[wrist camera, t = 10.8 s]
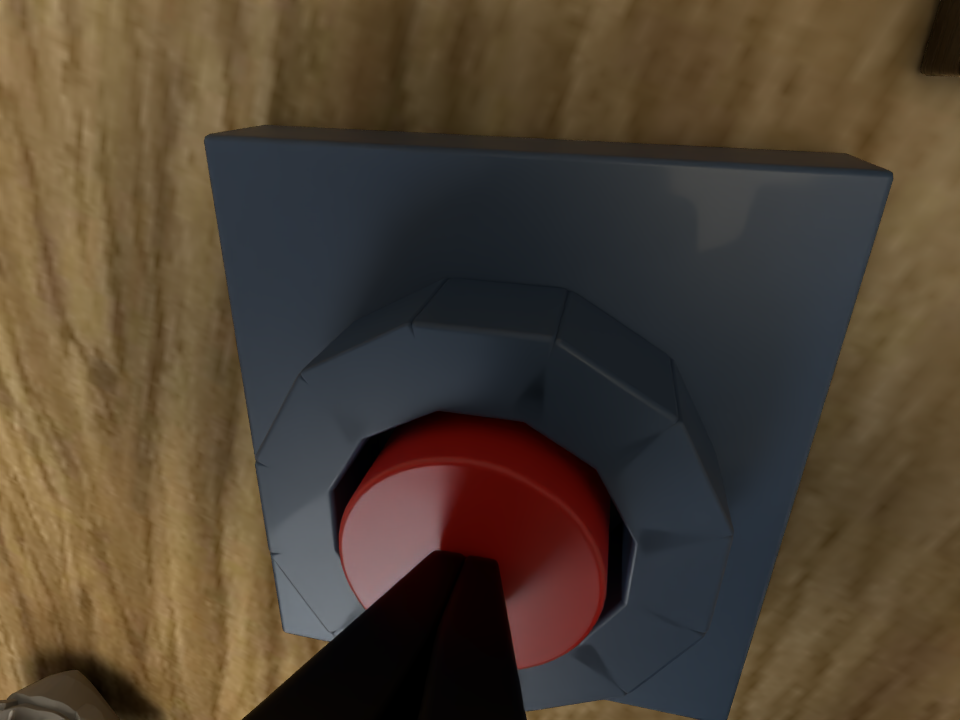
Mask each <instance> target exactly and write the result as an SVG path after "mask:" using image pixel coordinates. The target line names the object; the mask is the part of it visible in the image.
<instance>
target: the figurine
mask: <svg viewBox="0 0 960 720" xmlns="http://www.w3.org/2000/svg"><path fill="white" fill-rule="evenodd" d="M0 720H120V718H119V717H118V716H117V715H116V713H115V712H114V711H113V710H112V708H111V707H110V706H109V704H108V703H107V702H106V701H105V699H104V698H103V697H102V696H101V694H100V693H99V692H98V691H97V689H96V688H95V687H94V686H93V685H92V683H91V682H90V681H89V680H88V679H87V678H86V677H85V676H84V675H83V674H82V673H81V672H79V671H78V670H70V671H65V672H61V673H57V674H53V675H50V676H48V677H46V678H44V679H42V680H40V681H37V682H35V683H33V684H31V685H29V686H27V687H25V688H23V689H21V690H19V691H17V692H15V693H13V694H11V695H10V696H9V697H8V698H7V700H0Z"/></svg>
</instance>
